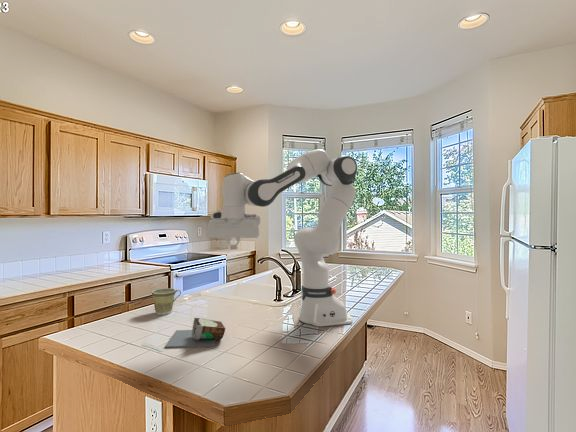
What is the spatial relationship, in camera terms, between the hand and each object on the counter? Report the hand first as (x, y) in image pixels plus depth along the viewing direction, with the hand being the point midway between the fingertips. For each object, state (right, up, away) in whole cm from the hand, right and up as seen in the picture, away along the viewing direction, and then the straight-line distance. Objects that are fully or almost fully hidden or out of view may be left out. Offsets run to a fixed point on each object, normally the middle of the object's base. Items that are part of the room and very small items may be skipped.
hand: (233, 249), depth 129 cm
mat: (-13, -31, -11) cm, 35 cm away
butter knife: (-19, -32, -22) cm, 43 cm away
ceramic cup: (-34, -31, +21) cm, 50 cm away
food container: (-2, -30, -10) cm, 31 cm away
